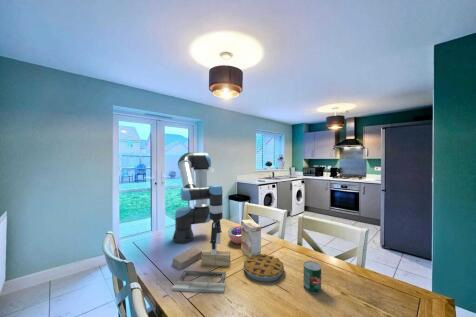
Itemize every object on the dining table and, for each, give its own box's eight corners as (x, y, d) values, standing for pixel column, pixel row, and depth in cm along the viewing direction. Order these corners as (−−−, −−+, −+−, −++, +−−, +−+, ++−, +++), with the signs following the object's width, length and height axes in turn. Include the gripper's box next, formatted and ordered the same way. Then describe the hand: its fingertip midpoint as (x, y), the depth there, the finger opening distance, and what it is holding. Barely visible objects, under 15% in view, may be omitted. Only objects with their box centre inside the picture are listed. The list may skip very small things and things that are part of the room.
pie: (286, 264, 116) (286, 255, 116) (281, 288, 95) (281, 277, 95) (249, 258, 123) (249, 250, 123) (237, 278, 102) (237, 269, 102)
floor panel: (182, 272, 107) (182, 270, 107) (227, 274, 105) (227, 272, 105) (172, 290, 93) (172, 287, 93) (223, 292, 91) (223, 290, 91)
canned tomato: (307, 281, 100) (307, 259, 100) (323, 287, 95) (323, 264, 95) (300, 289, 94) (300, 265, 94) (318, 296, 89) (318, 272, 89)
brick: (181, 270, 110) (181, 261, 110) (171, 265, 115) (171, 257, 115) (202, 257, 123) (202, 250, 123) (193, 254, 128) (193, 246, 128)
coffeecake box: (240, 249, 134) (240, 220, 134) (250, 247, 137) (250, 218, 136) (251, 260, 120) (251, 227, 120) (261, 257, 123) (261, 226, 123)
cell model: (256, 239, 150) (256, 224, 150) (242, 250, 133) (242, 233, 133) (237, 234, 159) (237, 220, 159) (222, 244, 142) (222, 228, 142)
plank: (203, 260, 120) (203, 250, 120) (230, 261, 119) (230, 251, 119) (201, 264, 115) (201, 254, 115) (229, 265, 114) (229, 255, 114)
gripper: (213, 206, 129) (213, 239, 129) (204, 218, 104) (204, 259, 104) (225, 206, 129) (225, 240, 129) (218, 218, 104) (219, 259, 104)
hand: (216, 248), depth 116 cm, fingers open, 13 cm apart
